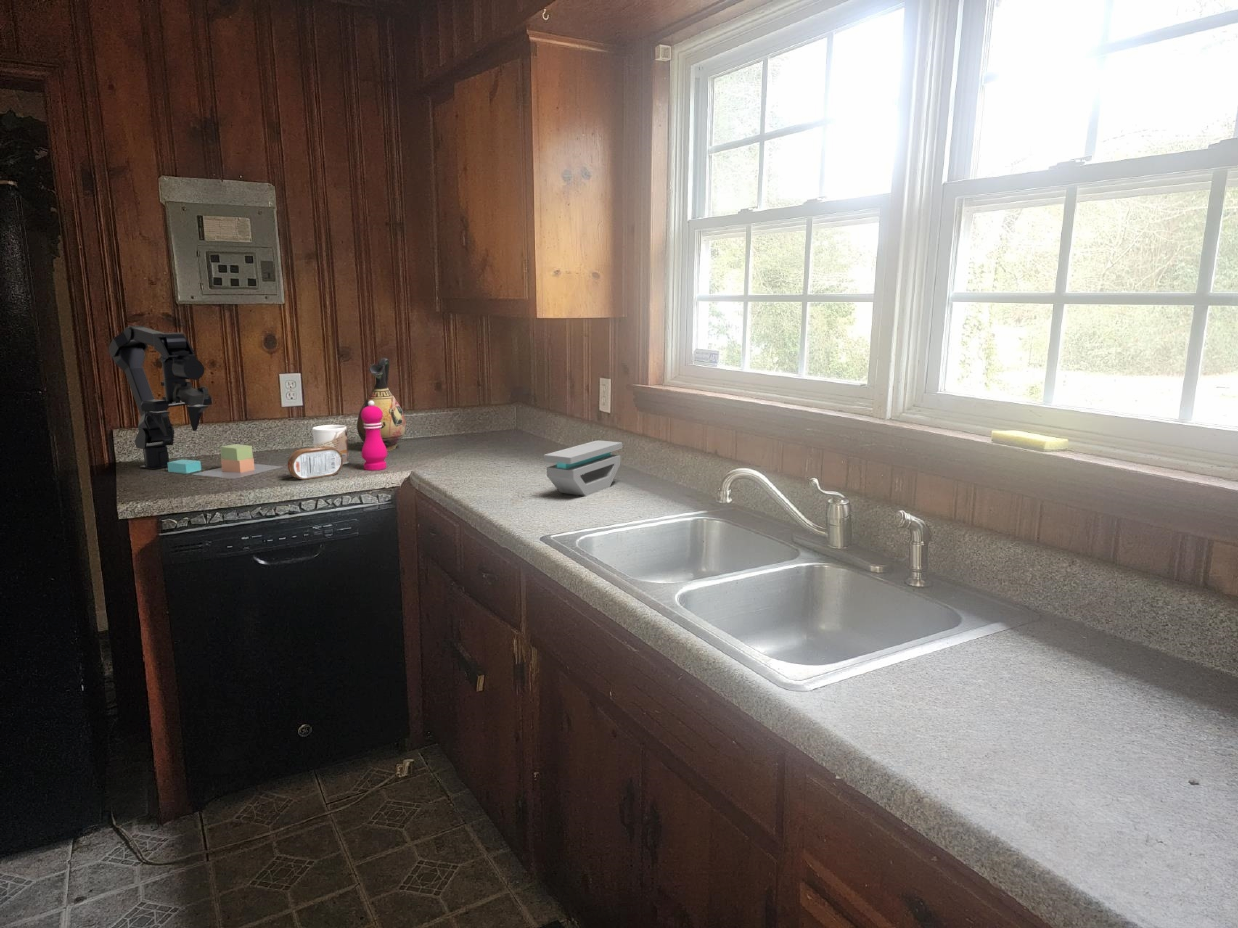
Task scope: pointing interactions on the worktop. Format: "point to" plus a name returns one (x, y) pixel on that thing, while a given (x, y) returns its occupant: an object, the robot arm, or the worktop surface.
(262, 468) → the baseplate
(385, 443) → the ceramic jug
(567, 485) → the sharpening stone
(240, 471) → the terracotta brick
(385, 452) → the pepper mill
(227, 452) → the olive brick
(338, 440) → the mug
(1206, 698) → the worktop surface
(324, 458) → the tin
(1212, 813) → the worktop surface
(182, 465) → the teal brick
